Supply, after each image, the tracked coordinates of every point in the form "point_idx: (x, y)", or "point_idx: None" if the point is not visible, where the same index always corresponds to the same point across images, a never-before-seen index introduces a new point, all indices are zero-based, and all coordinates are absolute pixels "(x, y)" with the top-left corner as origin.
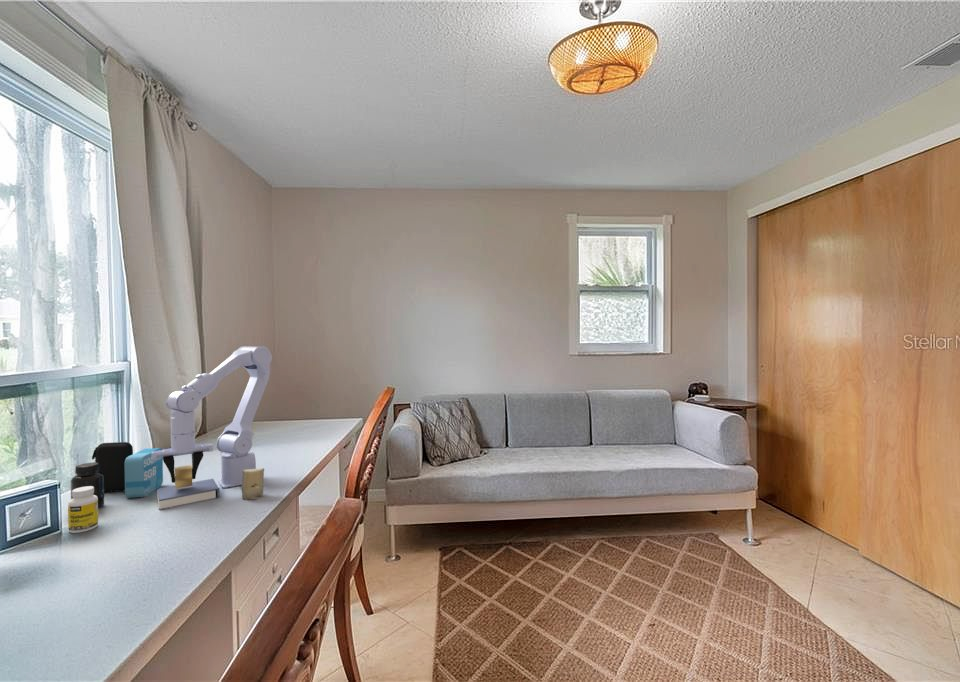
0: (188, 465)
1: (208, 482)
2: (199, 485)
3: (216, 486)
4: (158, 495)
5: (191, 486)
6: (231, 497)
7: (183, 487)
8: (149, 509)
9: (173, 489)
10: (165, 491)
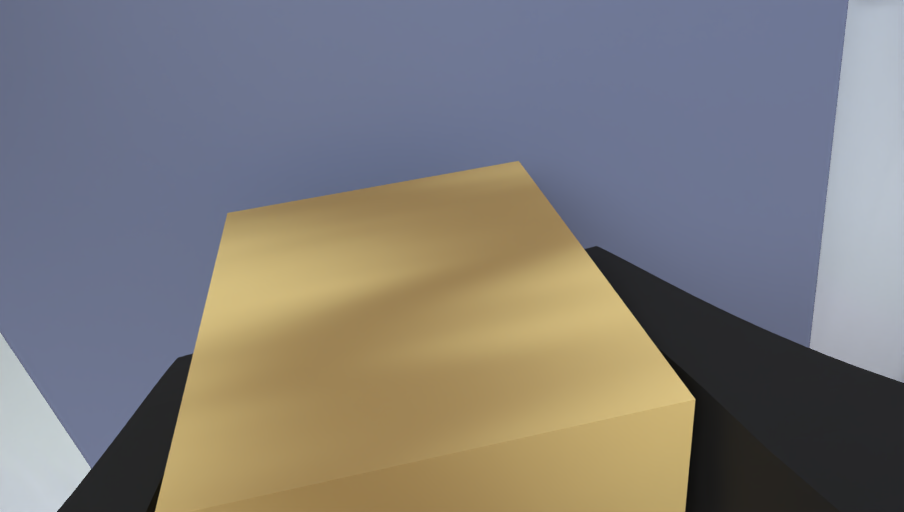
0: (603, 446)
1: (751, 36)
2: (608, 155)
3: (800, 301)
4: (66, 423)
5: (490, 162)
6: (830, 340)
7: (365, 162)
8: (47, 421)
9: (211, 208)
10: (100, 270)
